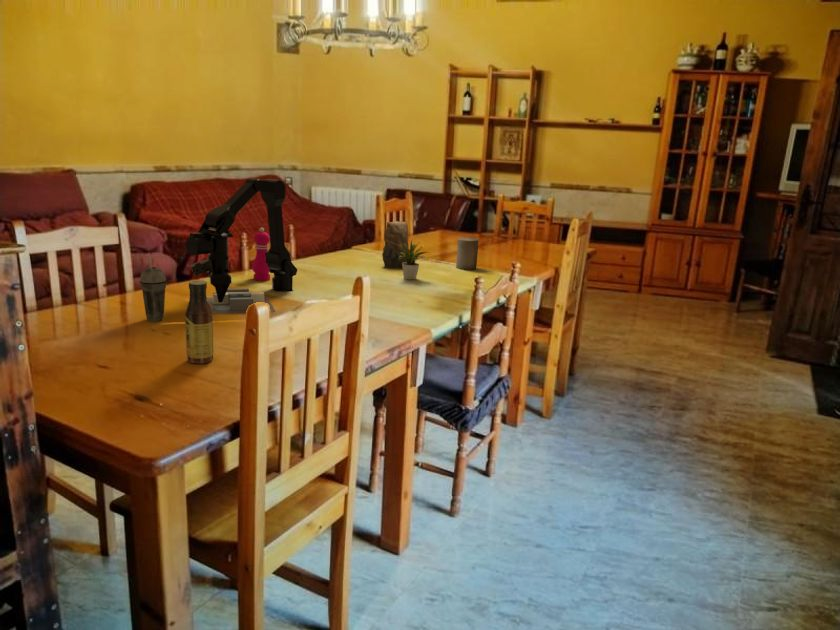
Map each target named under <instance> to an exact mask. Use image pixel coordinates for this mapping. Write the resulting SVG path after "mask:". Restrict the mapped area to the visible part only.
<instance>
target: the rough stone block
mask: <svg viewBox="0 0 840 630" xmlns="http://www.w3.org/2000/svg"><path fill="white" fill-rule="evenodd" d="M408 235H409V230H408V222H407V221H399V220H394V221H391V222H390V221H387V222H386V227H385V230H384V235H383V240H384V247H383V248H382V254H381V257H382V261H383V267H384V268H388V269H391V268H392V269H401V270H403V266H402V263H404V262H406V260H405V259H403V258H404V257H405V256H404V255H402V254H400V253H401V252H403V253H404V251H403V250H402V249H403V248H402V249H401V247H400V245H401V246H403V247H404V249H405V251H406V248H405V245H407V247H408V249H410V247H409V246H410V245H409V236H408ZM404 243H405V245H404ZM395 244H397V245H395ZM406 253H407V251H406ZM404 254H405V253H404ZM400 255H401V256H403V257H399V256H400ZM400 258H401V259H400Z"/></svg>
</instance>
